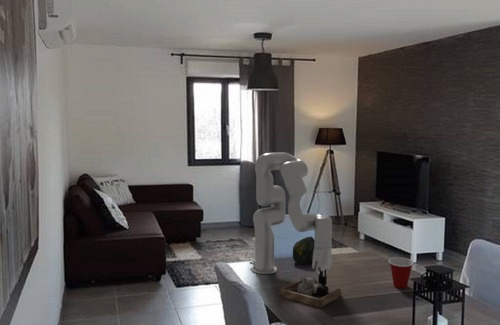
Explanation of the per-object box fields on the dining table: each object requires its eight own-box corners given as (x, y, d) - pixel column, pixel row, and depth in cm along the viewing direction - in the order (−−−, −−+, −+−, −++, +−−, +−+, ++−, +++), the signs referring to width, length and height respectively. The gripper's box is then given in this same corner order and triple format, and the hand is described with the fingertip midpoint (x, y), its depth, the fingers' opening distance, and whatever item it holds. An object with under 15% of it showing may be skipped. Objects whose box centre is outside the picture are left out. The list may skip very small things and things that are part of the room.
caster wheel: (328, 297, 202) (320, 301, 194) (305, 287, 208) (296, 291, 200) (332, 283, 202) (324, 286, 193) (309, 273, 208) (300, 276, 199)
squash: (282, 251, 248) (297, 233, 240) (301, 247, 258) (315, 230, 250) (297, 273, 241) (312, 256, 233) (315, 268, 251) (331, 251, 243)
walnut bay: (279, 296, 198) (279, 289, 197) (300, 285, 211) (300, 278, 211) (320, 307, 185) (321, 300, 185) (341, 295, 198) (341, 288, 198)
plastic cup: (386, 288, 207) (387, 262, 206) (389, 281, 217) (389, 256, 216) (412, 292, 203) (413, 265, 202) (413, 284, 213) (414, 258, 212)
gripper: (323, 239, 213) (323, 278, 214) (306, 246, 201) (306, 287, 202) (338, 242, 208) (337, 281, 209) (322, 248, 196) (321, 291, 198)
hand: (322, 284), depth 206 cm, fingers closed
